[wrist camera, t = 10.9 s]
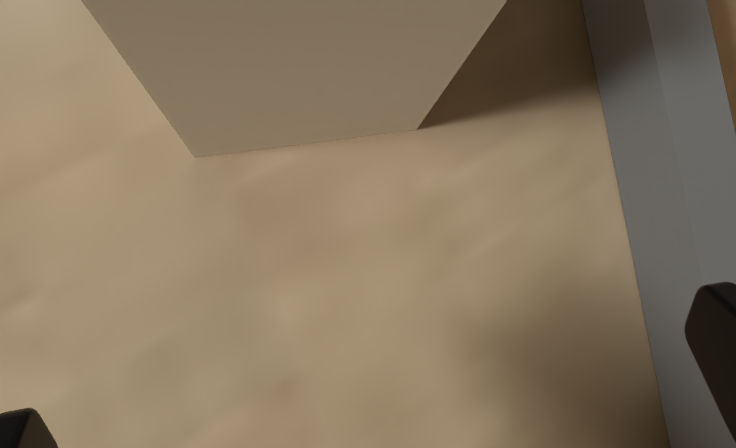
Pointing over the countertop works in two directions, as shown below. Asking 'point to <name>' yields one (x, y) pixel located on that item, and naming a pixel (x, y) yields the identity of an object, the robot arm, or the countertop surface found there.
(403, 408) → the countertop surface
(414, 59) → the cream carton
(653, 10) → the price rail
